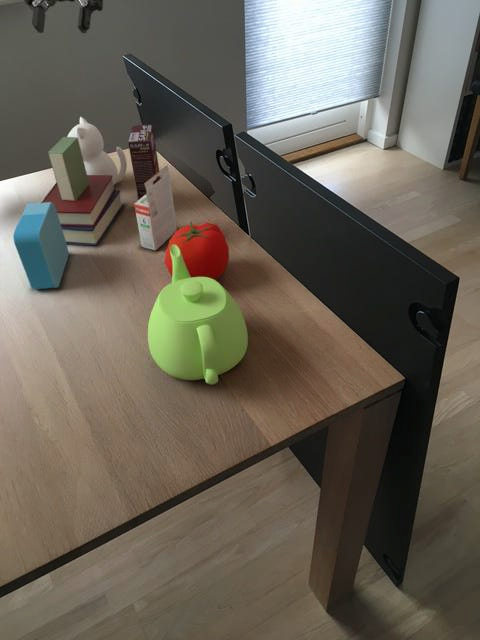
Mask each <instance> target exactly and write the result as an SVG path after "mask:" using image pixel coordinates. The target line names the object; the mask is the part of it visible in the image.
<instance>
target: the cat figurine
mask: <svg viewBox="0 0 480 640" xmlns="http://www.w3.org/2000/svg"><path fill="white" fill-rule="evenodd" d="M66 137H78V141H79V145H80V149H81V153H82V157H83V161H84V165H85V169H86V173H87V175H112V181H113V186H114V187H115V185H116V184H117V183H120V182H121V181H122V180H123V179H124V178H125V175H126V173H127V166H128V165H127V164H128V163H127V157H126V153H125V152H124V150H123V149H122V148H121V147H120V146H116V148H115V151H116V153H117V156H118V158H119V163H120V168H119V169H118V166H117V164H116V162H115V161H114V160H113V158H112V157H111V156H110V154H108V153H107V152H106V151H105V150H104V147H105V144H104V138H103V135H102V133H101V132H100V130H99V128H97V127H96V126H95V125H93V124H92V123H89V122H88V121H87V120H86V119H85V118H84V117H82V116H80V117H79V123H78V124H76V125H74V127H72V129H71V130H70V131H69V133H68V134H67V136H66Z"/></svg>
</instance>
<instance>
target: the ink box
mask: <svg viewBox="0 0 480 640" xmlns="http://www.w3.org/2000/svg"><path fill="white" fill-rule="evenodd" d="M157 176H160V178H161V179H159V180H158V181H157V182H156V183H154V184H153V181H154V180H156V178H157ZM144 184H145V189H146V195H144V196H143V197H142V198H141V199H139V200H138V199H137V201H136V202H135V203H134V204H133V205H134V210H135V216H136V221H137V228H138V233H139V238H140V239H139V240H140V245H141V247H142V248H143V249H148V250H152V251H157V250H159V248H160V247H162V245H164V244H165V243H166V242H167V241H168V240H169V239H171V238H172V236H173V235H174V234H175V232H176V231H177V230H178V228H177V221H176V213H175V212H176V211H175V205H174V198H173V197H174V196H173V189H172V186H171V185H172V183H171V177H170V171H169V166H168V165H165V166H164V167H163V168H162V169H159V172H158V173H156V174H155V175H154V176H153V177H151V178H150V179H149V180H148V181H146V182H145V183H144Z"/></svg>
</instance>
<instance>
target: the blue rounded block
mask: <svg viewBox="0 0 480 640" xmlns="http://www.w3.org/2000/svg"><path fill="white" fill-rule="evenodd" d="M12 237H13V244H14V246H15V249H16V252H17V254H18V257H19V259H20V261H21V264H22V268H23V269H24V272H25V275H26V278H27V281H28V283H29V286H30V288H32V290H42V289H53V288H54V289H56V288H59V287H60V283H61V281H62V278H63V275H64V272H65V269H66V265H67V261H68V258H69V249H68V244H66V240H65V237H64V234H63V230H62V227H61V224H60V221H59V217H58V214H57V211H56V207H55V205H54V203H52V202H47V203H41V202H32V203H31V202H30V203H27V204H26V206H25V208H24V210H23V213H22V215H21V217H20V218H19V221H18V222H17V224H16V227H15V229H14V232H13V236H12Z"/></svg>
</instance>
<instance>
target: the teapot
mask: <svg viewBox="0 0 480 640" xmlns="http://www.w3.org/2000/svg"><path fill="white" fill-rule="evenodd" d="M170 253H171V257H172V263H173V274H172V276H171V282H170V283H168V284H167V285H165V286H164V287H163V288H162V289H161V291H160V292H159V294H158V296H157V298H156V299H155V302H154V304H153V307H152V309H151V312H150V315H149V320H148V323H147V324H148V326H147V344H148V348H149V353H150V355H151V357H152V359H153V361H154V362H155V364H157V366H158V367H159V369H161V370H162V371H164V372H165V373H166V374H167V375H169V376H171V377H174V378H176V379H179V380H182V381H199V380H205V383H206V384H208V385H215V384H217V383H218V382H219V376H220V375H222V374H224V373H226V372H228V371H230V370H231V369H233V368H234V367H235V366H236V365H238V364H239V363H240V362H241V361H242V359H243V358H244V356H245V355H246V352H247V348H248V345H249V344H248V343H249V335H248V328H247V324H246V321H245V318H244V315H243V312H242V310H241V309H240V307H239V305H238V303H237V302H236V301H235V299H234V298H233V297H232V296H231V294H230V293H229V291H227V290H226V289H225V287H224V286H222V284H220V282H218V281H217V280H214V279H211V278H208V277H192V278H191V277H190V275H189V272H188V270H187V268H186V265H185V263H184V260H183V257H182V254H181V251H180V249H179V248H178V246H177V245H175V244H173V245H171V246H170Z"/></svg>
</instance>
